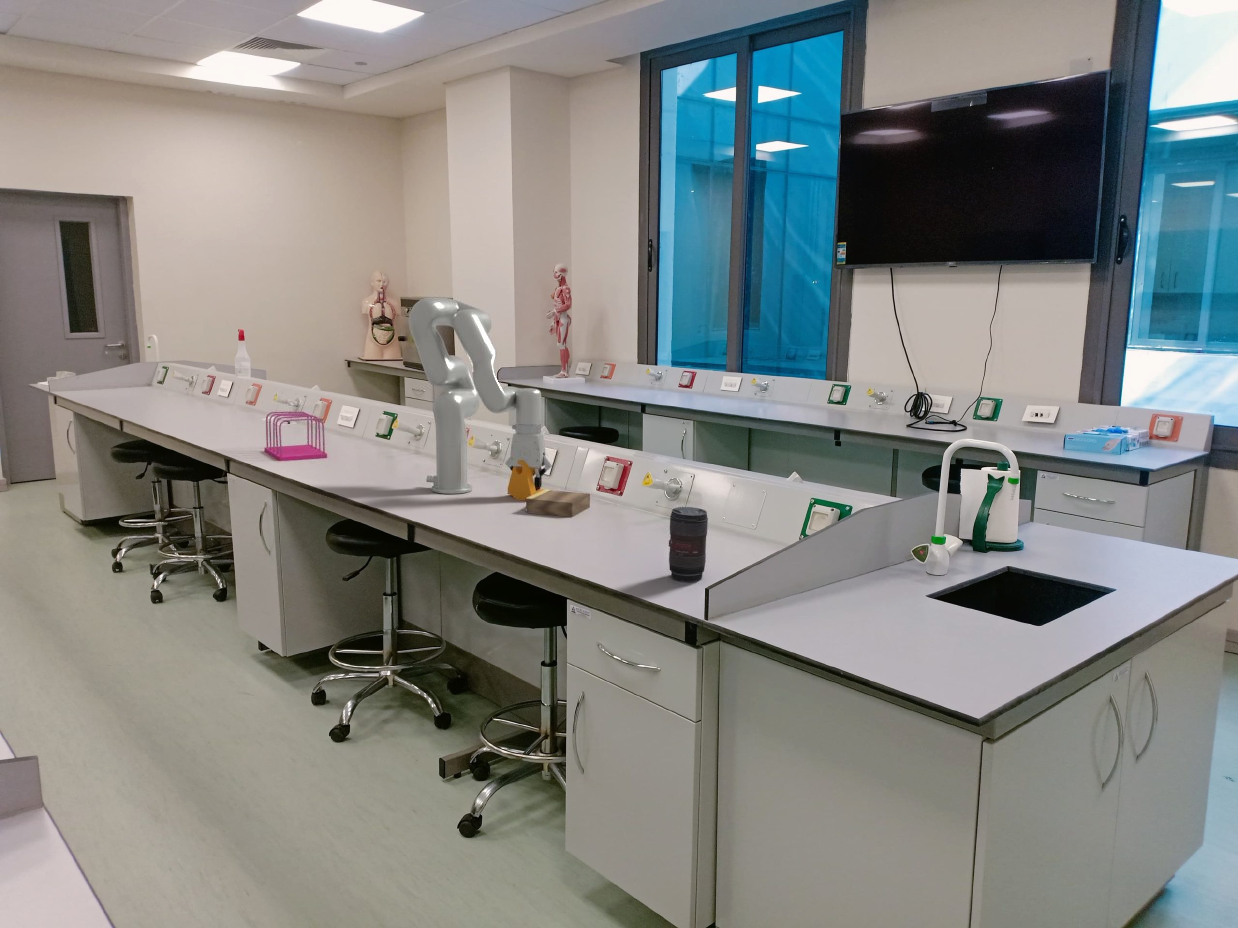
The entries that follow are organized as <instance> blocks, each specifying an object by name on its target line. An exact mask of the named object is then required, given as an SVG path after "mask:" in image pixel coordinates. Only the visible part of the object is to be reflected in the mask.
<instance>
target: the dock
mask: <svg viewBox="0 0 1238 928" xmlns="http://www.w3.org/2000/svg"><path fill="white" fill-rule="evenodd" d="M544 489H545V490H543V491H541V492H538V493H536V494H534V495H532V496H530V497H527V498H526V501H525V502H526V503H525V504H526V505H525V513H528V514H529V513H530V514H536V515H537V514H538V515H539V514H540V515H549V516H557V517H558V516H559V517H568V518H574V517H575V516H577V515H579V514H580V513H582V512H584V511H585V510H587V509H590V507H591V493H587V492H583V493H582V492H573V491H563V490H552V489H546V488H544Z"/></svg>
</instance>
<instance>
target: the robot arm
mask: <svg viewBox="0 0 1238 928" xmlns="http://www.w3.org/2000/svg"><path fill="white" fill-rule="evenodd" d="M437 326H448V327H451V328H453V330H454V333H455V334H456V336H457V337H458V340H459V342H460V344H461V346H462V348H463V349H464V352H465V353H466V355H467V357H468V360H469V362H470V363H471V371H470V369H469V366H468V364H467V363H466V362H465V360H464V359H463V358H461V357H459V356H457V355H451V354H449V353H448V350H447V347H446V344H445V342H444V339H443V337H442V336H441V333H439V331H438V330H437ZM408 328H409V332H410V334H411V337H412V340H413V342H414V344H415V347H416V349H417V352H418V356H419V359H420V362H421V365H422V368H423V370H424V374H425V377H426V379H427V381H428V383H429V384H430V385H431V386H433V387H436V388H445V387H446V390H443V391H441V392H439V393H437V395H436V397H435V398H434V399H433V403H432V412H433V418H434V424H435V445H436V447H435V449H436V450H435V451H436V453H435V455H436V458H435V459H436V462H435V463H436V464H435V465H436V475H435V474H434V475H430V474H428V475H427V476H426V479H425V480H426V483H433V485H432V486H431V492H434V493H436V494H437V493H438V494H445V495H447V494H448V495H449V494H451V495H453V494H454V495H455V494H465V493H469V492H471V491H473V486H472V485H471V484H469V483H468V431H467V426H466V422H465V419H467V418H470V417H473V416H474V415H475V414H476V413H477V412H478V410H479V407H480V400H481V402H482V403H483V405H484V407H485V409H487V410H488V411H489V412H491V413H493V414H503V413H507V412H513V411H515V424H512V426H511V429H512V430H515V433H513V435H512V439H511V445H510V456H509V458H508V459H507V460H506V462H505V466H507V467H508V468H509V469H510V472H512V470H513V466H515V467H519V468H520V467H522V466H521V465H520V464H518V460H521V461H524V462H525V463H526V464H527V465H528V467H529V468H534V470H535V477H533V481H534V485H535V489H536V490H539V489H541V488H542V485H543V484H542V483H543V482H542V478H543V475H545V474H546V473H547V472H548V470H550V469H551V468H553V466H552V463H551V462H550V461H549V459H548V458H547V455H546V454H547V452H546V443H545V438H544V435H543V433H542V392H541V390H539V389H538V388H532V387H530V388H529V387H527V388H525V387H524V388H521V387H516V386H508V385H507V386H502V387H501V385H500V383H499V382H498V381H499V380H498V379H497V377H496V375H495V370H494V363H495V359H496V358H497V354H498V352H497V348H496V347H495V345H494V343H493V341H492V339H491V337H490V336H489V333H490V331H491V328H492V320H491V317H490V316H489V314H488V313H487V312H485V311H484V310H482V309H481V308H477V307H475V306H472V305H469V304H466V303H464V302H461V301H458V300H456V299H453V298H449V297H436V296H435V297H425V298H421V299H420V300H418V301H417V302H416V303H415V304H414V305H413V306H412V307H411V309H410V312H409V315H408ZM479 398H480V399H479ZM543 466H544V467H543ZM542 467H543V468H542Z"/></svg>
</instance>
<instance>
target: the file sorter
mask: <svg viewBox="0 0 1238 928" xmlns="http://www.w3.org/2000/svg"><path fill="white" fill-rule="evenodd" d="M274 416H275V417H274ZM273 417H274V418H273ZM268 418H269V419H268ZM272 418H273V421H272ZM282 419H284V420H282ZM280 420H282V421H281V422H280V423H279V426H278V422H279V421H280ZM297 421H298V422H299V421H307V422H306V423H307V425H306V426H307V438H306V439H307V444H300V445H299V444H298V445H296V444H295V445H283V444H282V433H281V432H282V430H281V429H282V425H283V424H284V423H285V422H297ZM313 421H314V422H315V423H313ZM271 423H272V424H271ZM313 424H315V431H314V430H313V429H314V427H313ZM324 424H325V423H324V422H323V421H322V419H320V418H318V416H317V415H313V414H310V413H307V412H305V411H297V410H296V411H271V412H269V413H267V414H266V417H265V434H266V435H265V436H266V437H265V438H266V439H265V441H266V447H263V448H264V453H266V454H268V455H269V456H271V457H273V458H274V459H276V460H277V461H278V462H287V461H297V460H298V461H299V460H311V459H313V460H314V459H327V458H328V453H327V452H326V449H325V448H326V447H325V445H326V444H325V425H324ZM321 425H322V426H321ZM321 427H322V446H321ZM314 432H315V434H313V433H314ZM278 434H279V435H278ZM310 435H311V436H310ZM278 436H279V439H278ZM313 436H314V437H313ZM314 438H315V439H314ZM278 440H279V441H278ZM310 441H311V442H310ZM321 449H322V450H321Z"/></svg>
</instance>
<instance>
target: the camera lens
mask: <svg viewBox="0 0 1238 928" xmlns="http://www.w3.org/2000/svg"><path fill="white" fill-rule="evenodd" d="M669 517H670V519H669V535H670V536H669V537H670V538H669V540H668V547H669V553H668V565H669V571H670V572H671V576H670V577H671V578H672V579H673V580H675V581H679V582H687V583H688V582H689V583H691V582H698V581H701V580H702V579H703V575H704V574H703V573H704V572H705V566H706V561H707V560H706V558H707V557H706V556H707V554H706V553H707V552H706V550H707V549H706V548H707V535H708V522H709V520H708V519H709V518H708V512H707V510H705V509H702V508H699V507H693V506H680V507H678V506H677V507H674V508H671V513H670V516H669Z"/></svg>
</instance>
